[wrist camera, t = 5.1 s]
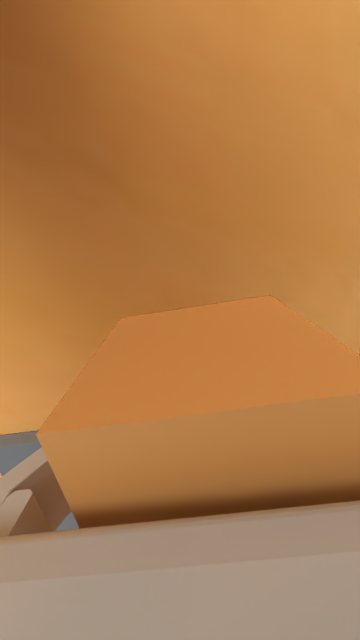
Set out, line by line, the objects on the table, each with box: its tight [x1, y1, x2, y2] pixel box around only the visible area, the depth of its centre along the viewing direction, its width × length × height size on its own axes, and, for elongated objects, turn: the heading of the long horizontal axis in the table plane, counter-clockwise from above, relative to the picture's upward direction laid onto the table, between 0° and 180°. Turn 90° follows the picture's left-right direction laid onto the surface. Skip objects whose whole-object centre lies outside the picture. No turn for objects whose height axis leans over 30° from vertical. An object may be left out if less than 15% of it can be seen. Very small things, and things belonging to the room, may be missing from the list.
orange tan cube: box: [36, 295, 360, 529], centre depth 8 cm, size 6×6×6 cm
